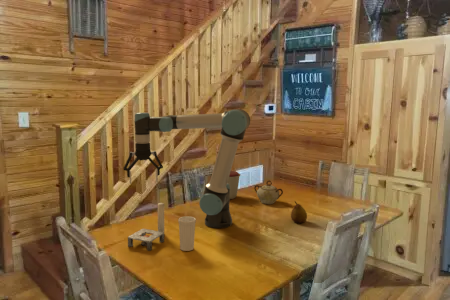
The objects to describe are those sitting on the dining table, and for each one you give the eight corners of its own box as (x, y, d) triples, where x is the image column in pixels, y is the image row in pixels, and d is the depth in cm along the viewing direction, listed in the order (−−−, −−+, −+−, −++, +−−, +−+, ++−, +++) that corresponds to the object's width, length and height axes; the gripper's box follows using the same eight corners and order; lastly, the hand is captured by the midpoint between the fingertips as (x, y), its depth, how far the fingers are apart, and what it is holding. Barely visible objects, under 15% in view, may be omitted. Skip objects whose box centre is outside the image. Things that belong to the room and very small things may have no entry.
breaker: (151, 239, 174) (151, 235, 174) (147, 241, 171) (147, 238, 171) (145, 237, 176) (145, 234, 175) (140, 240, 172) (140, 237, 172)
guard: (164, 241, 177) (164, 232, 176) (150, 251, 166) (149, 241, 165) (143, 237, 181) (142, 228, 181) (128, 246, 170) (127, 236, 170)
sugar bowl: (285, 201, 247) (286, 180, 245) (278, 207, 234) (279, 184, 232) (257, 197, 255) (258, 176, 253) (249, 203, 242) (250, 181, 240)
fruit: (309, 221, 209) (310, 201, 207) (300, 225, 202) (302, 204, 200) (296, 218, 215) (297, 198, 213) (287, 221, 208) (288, 201, 206)
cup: (188, 254, 164) (188, 223, 161) (174, 249, 168) (174, 219, 166) (199, 247, 170) (199, 218, 168) (185, 243, 175) (185, 215, 172)
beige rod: (165, 233, 186) (165, 203, 184) (162, 236, 184) (162, 205, 181) (160, 232, 188) (159, 202, 185) (156, 235, 185) (156, 204, 182)
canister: (240, 201, 245) (241, 170, 242) (213, 200, 246) (213, 170, 242) (239, 194, 263) (240, 165, 260) (214, 193, 263) (214, 164, 260)
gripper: (165, 140, 198) (166, 179, 201) (117, 142, 191) (119, 182, 194) (167, 142, 191) (168, 182, 194) (118, 144, 184) (119, 185, 187)
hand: (143, 182), depth 194 cm, fingers open, 13 cm apart
